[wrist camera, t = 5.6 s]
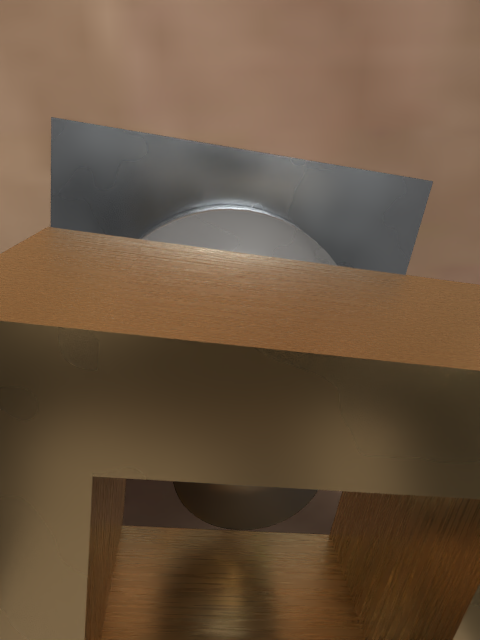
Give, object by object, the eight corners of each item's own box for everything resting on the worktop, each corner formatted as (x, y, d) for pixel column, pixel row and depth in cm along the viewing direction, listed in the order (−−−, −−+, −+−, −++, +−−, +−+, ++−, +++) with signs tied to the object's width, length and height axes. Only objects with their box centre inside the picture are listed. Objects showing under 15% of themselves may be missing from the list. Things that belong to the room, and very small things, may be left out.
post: (338, 459, 16) (432, 665, 10) (56, 439, 15) (-48, 664, 9) (419, 179, 13) (643, 216, 6) (60, 118, 12) (-111, 89, 5)
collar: (375, 585, 10) (462, 798, 7) (46, 576, 9) (-39, 821, 6) (484, 285, 7) (705, 393, 4) (47, 226, 6) (-99, 310, 3)
